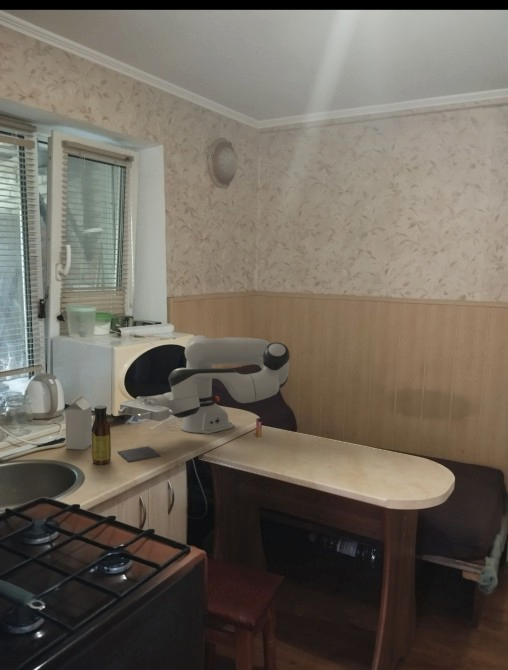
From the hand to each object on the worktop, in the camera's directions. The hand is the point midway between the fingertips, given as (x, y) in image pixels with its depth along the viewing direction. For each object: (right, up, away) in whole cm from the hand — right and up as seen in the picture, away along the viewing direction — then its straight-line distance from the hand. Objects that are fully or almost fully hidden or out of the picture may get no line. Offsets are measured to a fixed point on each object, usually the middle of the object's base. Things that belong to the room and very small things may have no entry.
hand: (129, 414), depth 196 cm
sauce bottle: (-8, -16, -7) cm, 19 cm away
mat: (+3, -15, +2) cm, 15 cm away
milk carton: (-21, -13, +9) cm, 26 cm away
